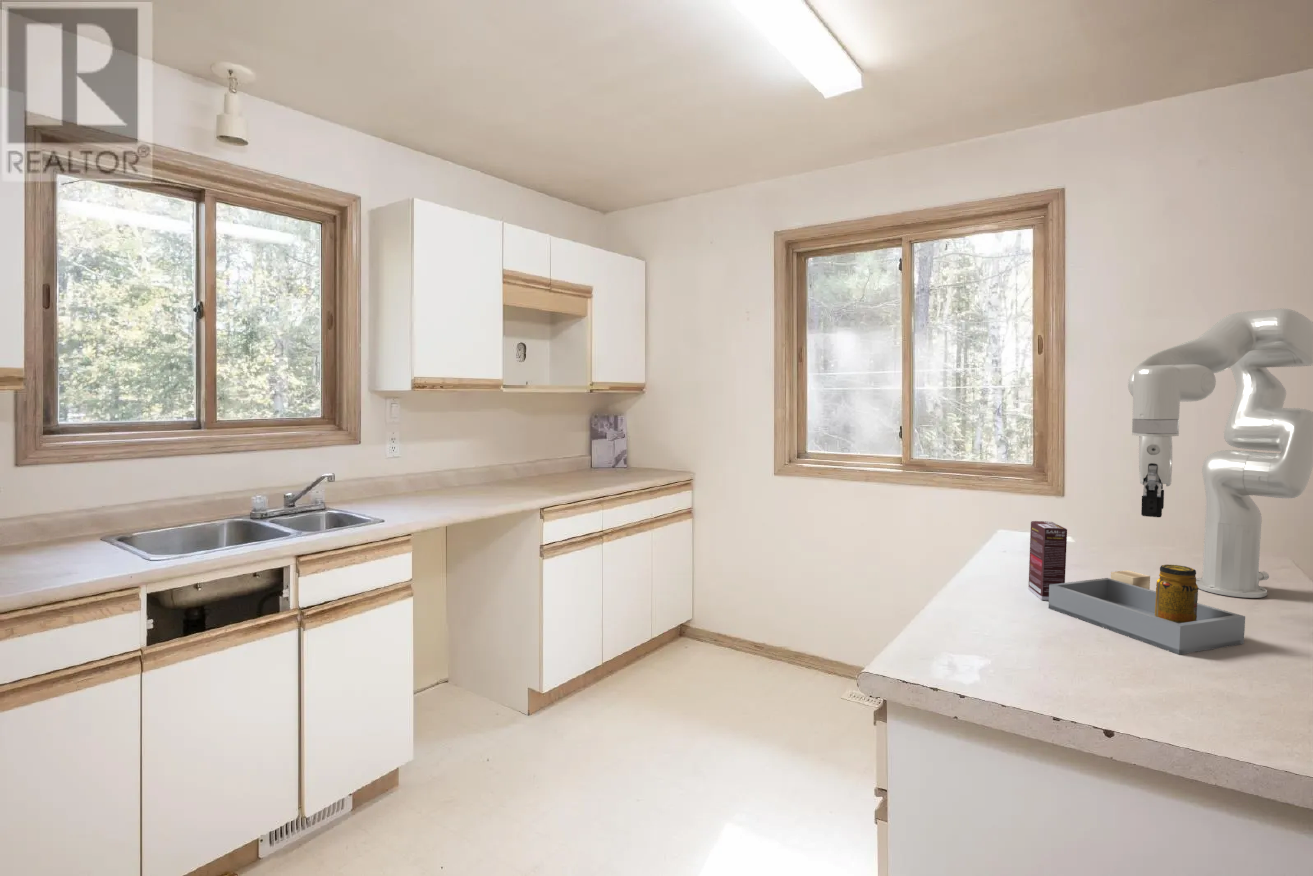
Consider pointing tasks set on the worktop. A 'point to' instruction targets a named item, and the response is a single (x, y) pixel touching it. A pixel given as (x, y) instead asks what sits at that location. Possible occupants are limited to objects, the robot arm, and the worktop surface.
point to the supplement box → (1046, 557)
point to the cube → (1132, 578)
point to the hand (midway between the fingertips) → (1152, 512)
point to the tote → (1145, 616)
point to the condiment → (1176, 594)
